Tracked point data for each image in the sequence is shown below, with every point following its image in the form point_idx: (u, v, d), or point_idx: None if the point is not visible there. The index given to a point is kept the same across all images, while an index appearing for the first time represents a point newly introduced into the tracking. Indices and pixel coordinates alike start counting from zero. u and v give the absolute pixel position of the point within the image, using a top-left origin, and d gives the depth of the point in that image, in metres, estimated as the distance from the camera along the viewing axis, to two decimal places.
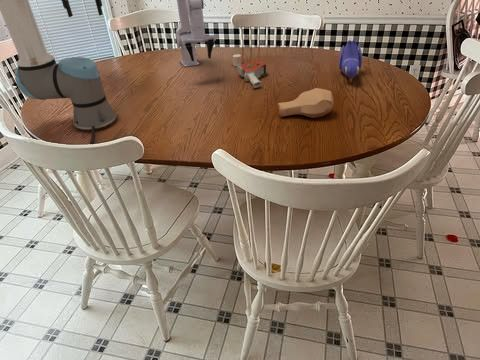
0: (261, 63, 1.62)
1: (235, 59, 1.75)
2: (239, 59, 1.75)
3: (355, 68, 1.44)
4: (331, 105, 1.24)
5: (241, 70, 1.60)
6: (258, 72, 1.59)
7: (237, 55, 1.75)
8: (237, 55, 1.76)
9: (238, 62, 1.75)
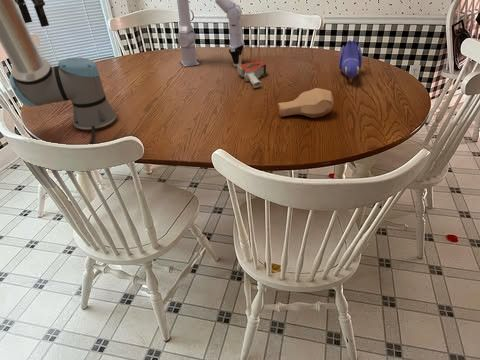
0: (261, 63, 1.62)
1: None
2: (239, 59, 1.75)
3: (355, 68, 1.44)
4: (331, 105, 1.24)
5: (241, 70, 1.60)
6: (258, 72, 1.59)
7: None
8: None
9: (238, 62, 1.75)
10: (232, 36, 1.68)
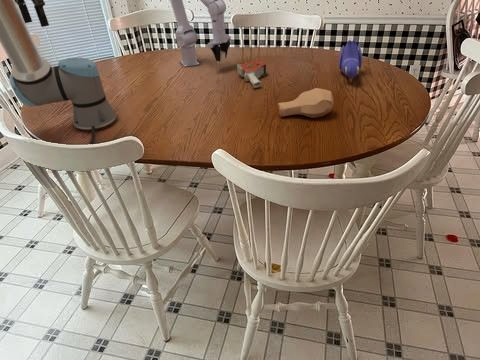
0: (261, 63, 1.62)
1: None
2: (221, 56, 1.68)
3: (355, 68, 1.44)
4: (331, 105, 1.24)
5: (241, 70, 1.60)
6: (258, 72, 1.59)
7: (221, 52, 1.69)
8: (221, 52, 1.69)
9: (220, 59, 1.69)
10: (213, 32, 1.62)
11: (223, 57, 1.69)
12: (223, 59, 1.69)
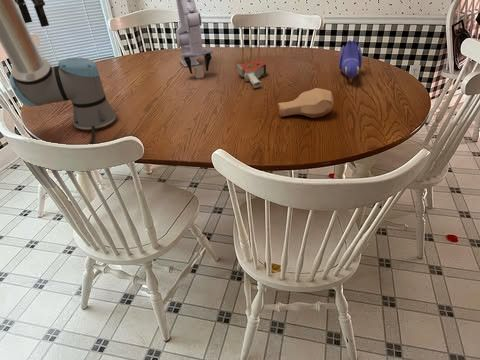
0: (261, 63, 1.62)
1: (194, 69, 1.65)
2: (197, 71, 1.64)
3: (355, 68, 1.44)
4: (331, 105, 1.24)
5: (241, 70, 1.60)
6: (258, 72, 1.59)
7: (199, 66, 1.65)
8: (199, 66, 1.65)
9: (196, 73, 1.65)
10: (189, 43, 1.59)
11: (198, 72, 1.64)
12: (198, 74, 1.65)
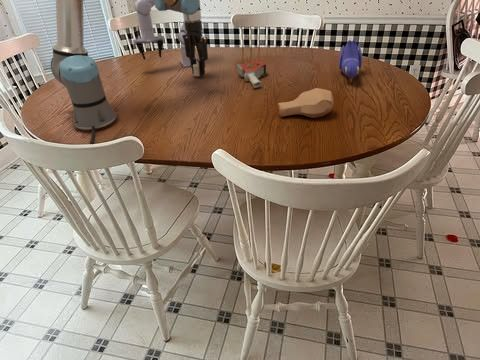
0: (261, 63, 1.62)
1: (193, 68, 1.64)
2: (195, 69, 1.63)
3: (355, 68, 1.44)
4: (331, 105, 1.24)
5: (241, 70, 1.60)
6: (258, 72, 1.59)
7: (198, 64, 1.64)
8: (198, 64, 1.64)
9: (194, 72, 1.64)
10: None
11: (197, 70, 1.63)
12: (197, 72, 1.64)
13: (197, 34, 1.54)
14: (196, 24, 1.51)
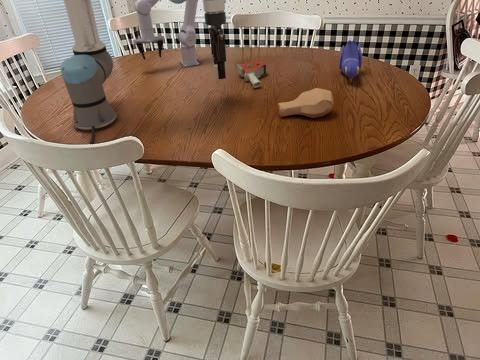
0: (261, 63, 1.62)
1: None
2: (214, 70, 1.36)
3: (355, 68, 1.44)
4: (331, 105, 1.24)
5: (241, 70, 1.60)
6: (258, 72, 1.59)
7: None
8: None
9: (214, 73, 1.37)
10: None
11: (216, 71, 1.36)
12: (216, 74, 1.36)
13: (215, 28, 1.25)
14: (213, 16, 1.22)
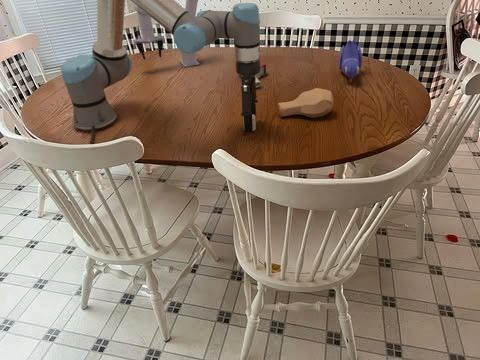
0: (261, 63, 1.62)
1: None
2: (243, 121, 1.21)
3: (355, 68, 1.44)
4: (331, 105, 1.24)
5: None
6: None
7: None
8: None
9: None
10: None
11: None
12: None
13: (243, 78, 1.10)
14: (241, 66, 1.07)
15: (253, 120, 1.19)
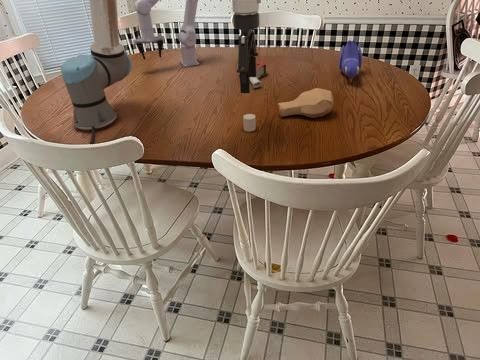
0: (261, 63, 1.62)
1: None
2: (243, 121, 1.21)
3: (355, 68, 1.44)
4: (331, 105, 1.24)
5: None
6: (258, 72, 1.59)
7: (249, 117, 1.20)
8: (250, 116, 1.20)
9: None
10: None
11: (244, 123, 1.21)
12: (244, 125, 1.21)
13: (241, 33, 1.02)
14: (239, 18, 0.99)
15: (253, 120, 1.19)
